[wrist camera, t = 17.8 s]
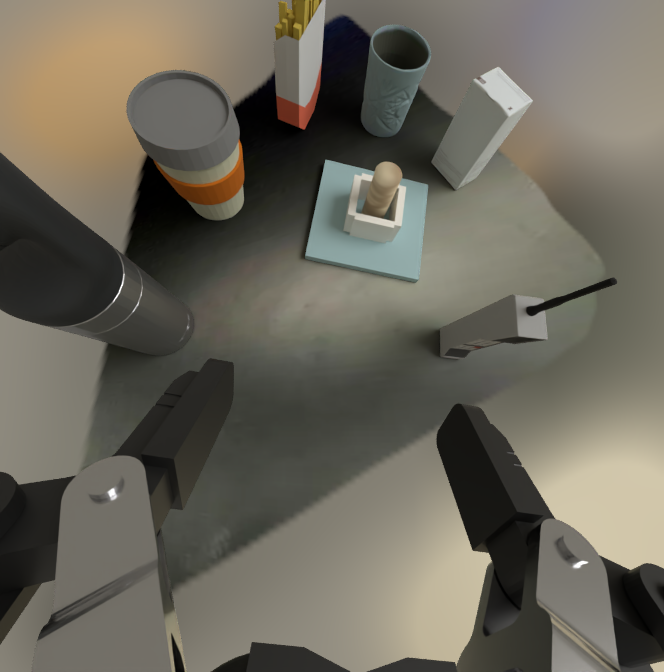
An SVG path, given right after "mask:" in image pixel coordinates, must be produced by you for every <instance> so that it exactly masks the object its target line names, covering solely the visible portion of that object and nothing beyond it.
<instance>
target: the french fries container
mask: <svg viewBox="0 0 664 672" xmlns="http://www.w3.org/2000/svg"><path fill="white" fill-rule="evenodd" d="M325 1H326V0H292V10H291V9H288V10H287V3H286V2H282V1H280V2H279V20H280V23H278V24H277V25H276V26H275V32H276V41H275V42H274V57H275V79H276V98H277V111H278V119H279V120H282V121H284V122H287V123H289V124H291V125H294V126H296V127H299V128H301V129H305V127H306V125H307V123H308V121H309V119H310V117H311V115H312V113H313V111H314V109H315V105H316V101H317V97H318V92H319V88H320V77H321V62H322V47H323V32H324V16H325Z"/></svg>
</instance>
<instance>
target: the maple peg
mask: <svg viewBox="0 0 664 672" xmlns="http://www.w3.org/2000/svg"><path fill="white" fill-rule="evenodd" d="M401 179H402V172H401V170H400V168H399V167H398V166H397V165H396V164H394V163H391V162H382V163H380V164H379V165H378V166H377V167H376V169H375V172H374V175H373V178H372V181H371V184H370V187H369V190H368V194H367V197H366V200H365V203H364V206H363V209H362V212H361V214H364V215H368V216H373V217H377V218H381V219H383V218H384V216H385V214H386V212H387V209H388V207H389V205H390V203H391V201H392V199H393V196H394V194H395V192H396V190H397V188H398V186H399V183H400V181H401Z"/></svg>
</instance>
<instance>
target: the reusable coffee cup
mask: <svg viewBox="0 0 664 672" xmlns="http://www.w3.org/2000/svg"><path fill="white" fill-rule="evenodd" d="M127 116H128V119H129V122H130V124H131V126H132V128H133V130H134V132H135V134H136V136H137V138H138V140H139V142H140V144H141V145H142V148H143V149H144V151H145V152H146V153H147V154H148V155H149V156H150V157H151V158H152V159H153V160H154V162H155V164H156V166H157V168H158V169H159V170H160V172H161V173H162V174H163V175H164V177H165V178H166V179H167V180H168V181H169V183H170V184H171V185H172V186H173V188H174V189H175V190H176V191H177V192H178V194H179V195H181V196H182V197H183V198H184V199H186V200H187V201H188V202H189V203H190V205H191V206H192V207H193V208H194V210H195V211H196V212H197V213H198V214H200V215H201V216H203V217H205V218H207V219H210V220H224V219H228V218H230V217H232V216H234V215H235V214H237V213H238V212H239V210H240V209H241V208H242V205H243V202H244V193H243V182H244V167H243V155H242V146H241V143H240V140H239V136H240V132H239V125H238V122H237V119H236V116H235V113H234V110H233V107H232V104H231V101H230V99H229V96H228V95H227V93H226V92H225V90H224V89H223V88H222V87H221V86H220V85H219V84H218V83H216V82H215V81H214V80H212V79H210V78H208V77H206V76H204V75H201V74H199V73H196V72H191V71H185V70H171V71H164V72H160V73H156V74H154V75H151V76H149V77H147V78H145V79H144V80H143V81H141V82H140V83H139V84H138V85H137V86H136V87H135V88H134V89H133V90H132V92H131V94H130V95H129V98H128V101H127Z"/></svg>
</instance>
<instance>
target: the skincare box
mask: <svg viewBox="0 0 664 672" xmlns="http://www.w3.org/2000/svg"><path fill="white" fill-rule="evenodd" d="M532 102H533V100H532V99H531V98H530V97H529V96H528V95H526V94H525V93H524V92H523V91H522V90H521V89H520V88H519V87H518V86H517V85H516V84H515V83H514V82H513V81H512V80H511V79H510V78H509V77H508V76H507V75H506V74H505V73H504V72H503V71H502V70H501V69H500V68H499V67H497V68H495V69H493V70H491V71H489V72H487V73H485V74H484V75H482V76H480V77H478V78H476V79H474V80H473V81H472V83H471V85H470V87H469V89H468V91H467V93H466V95H465V97H464V98H463V100H462V102H461V104H460V106H459V108H458V110H457V112H456V114H455V116H454V118H453V120H452V122H451V124H450V126H449V128H448V130H447V132H446V134H445V136H444V138H443V140H442V142H441V144H440V146H439V148H438V150H437V151H436V153H435V155H434V157H433V159H432V161H431V163H432V164H433V165H434V166H435V167H436V168H437V169H438V171H439V172H440V173H441V174H442V175H443V176H444V177H445V179H446V180H447V181H448V182H449V183H450V184H451V185H452V186H453V188H454V189H455V190H457V189H459V188H460V187H462V186H464V185H465V184H467V183H469V182H470V181H472V180H474V179H475V178H476V177H477V176H478V175H479V173H480V172H481V171H482V169H483V168H484V167H485V165H486V164H487V162H488V161H489V160H490V158H491V157H492V156H493V154H494V153H495V152H496V150H497V149H498V148H499V146H500V145H501V144H502V142H503V141H504V140H505V138H506V137H507V136H508V134H509V133H510V132H511V130H512V129H513V127H514V126H515V125H516V123H517V122H518V121H519V119H520V118H521V117H522V115H523V114H524V113H525V111H526V110H527V109H528V107H529V106H530V104H531V103H532Z"/></svg>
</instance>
